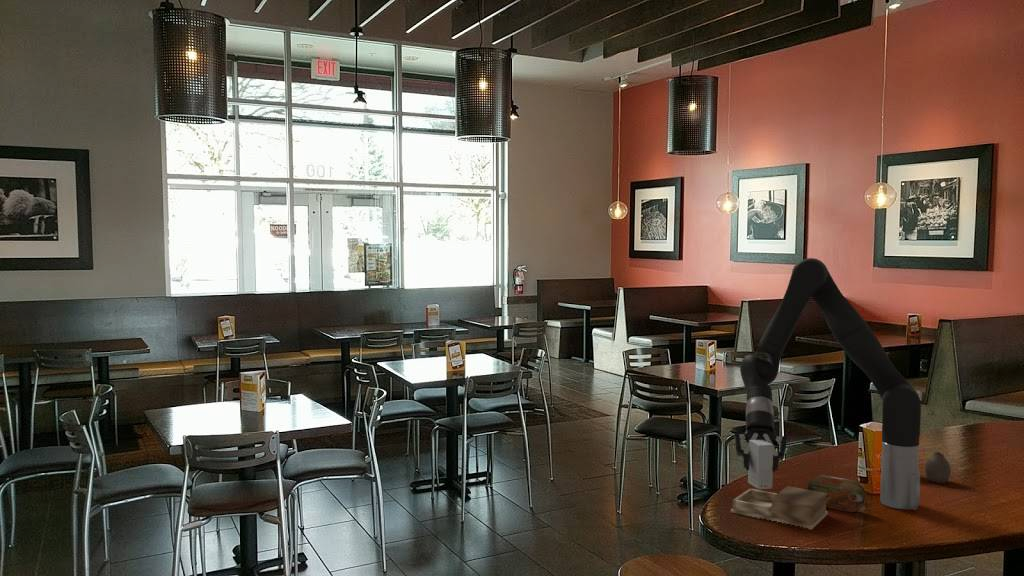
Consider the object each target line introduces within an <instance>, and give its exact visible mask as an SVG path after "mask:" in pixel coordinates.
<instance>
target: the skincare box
mask: <svg viewBox="0 0 1024 576" xmlns="http://www.w3.org/2000/svg"><path fill="white" fill-rule="evenodd" d="M773 445H774V444H773ZM773 445H772V444H770V443H768V442H766V441H764V440H749V449H750V452H749V470H747V473H748V474H747V484H749V485H750V486H753V487H754V488H755V489H756V490H765V489H766V490H771V489H773V480H774V479H773V478H774V477H773V476H774V475H773V473H774V472H773Z"/></svg>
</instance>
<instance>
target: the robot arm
mask: <svg viewBox="0 0 1024 576" xmlns="http://www.w3.org/2000/svg"><path fill="white" fill-rule="evenodd" d="M811 298H812V300H813V302H814V303H815V304H816V305H817V307H818V308H819V311H821V314H822V315H823V318H824V320H825V322H826V324H827V326H828V328H829V330H830V331H831V333H832V336H833V337H834V338H835V340H836V342H837V343H838V345H839V346H840V347H841V348H842V350H843V351H844V352H845V353H846V355H847V357H849V359H850V360H851V361H852V362H853V363H854V364H855V365H856V366H857V367H858V368H859V369H860V370H861V371H862V372H863V373H864V374H865V375H866V376H867V377H868V379H869V380H870V381H871V384H872V385H873V386H874V388H875V389H876V391H877V393H878V395H879V397H880V399H881V401H882V414H881V419H882V420H881V421H882V422H881V430H882V453H881V473H880V493H879V494H880V499H879V500H880V502H879V503H881V504H882V505H884V506H886V507H888V508H892V509H897V510H913V511H916V510H917V509H918V507H919V506H920V503H921V502H920V501H921V500H920V499H921V497H920V495H921V470H920V469H919V467H920V466H919V465H920V439H921V419H922V417H921V414H922V403H921V398H920V396H919V393H918V391H917V390H916V389H915V387H914V386H913V385H911V384H910V382H908V380H907V379H905V377H904V376H903V375H902V374H901V372H900V371H899V370H898V369H897V368H896V367H895V365H894V364H893V363H892V361H891V359H890V358H889V356H888V354H887V352H886V351H885V349H884V347H883V346H882V344H881V342H880V340H879V338H878V337H877V336H876V334H875V333H874V331H873V330H872V328H871V327H870V326H869V324H868V323H867V322H866V320H865V319H864V318H863V317H862V315H860V313H859V311H858V310H856V308H855V307H854V305H852V304H851V303H850V301H848V299H847V298H846V297H845V296H844V294H843V293H842V292H841V291H840V289H839V287H838V286H837V284H836V282H835V280H834V279H833V277H832V274H831V273H830V272H829V270H828V267H827V266H826V264H825V263H824V262H823V261H821V260H819V259H817V258H815V257H808V258H804V259H802V260H799V261H798V262H797V263H795V265H794V266H793V268H792V271H791V275H790V279H789V282H788V284H787V288H786V290H785V293H784V296H783V297H782V300H781V302H780V304H779V306H778V307H777V309H776V311H775V313H774V315H773V316H772V318H771V319H770V322H769V323H768V325H767V327H766V329H765V331H764V332H763V334H762V336H761V338H760V340H759V342H758V346H759V348H760V349H761V350H762V351H763V352H765V353H766V354H768V357H767V359H766V358H764V357H761V356H759V355H756V354H747V355H745V357H743V358H742V360H741V363H740V364H739V365H740V366H739V369H740V376H741V379H742V382H743V386H744V387H745V392H746V406H745V432H744V433H739V432H735V433H734V444H735V452H736V455H737V457H740V456H741V457H742V458H743V468H744V469H745V470H746V471H748V470H749V452H750V449H749V440H764V441H766V442H768V443H770V444H772V445H773V473H776V471H778V469H779V460H784V459H785V457H786V448H787V447H786V445H787V436H786V435H782V436H777V435H776V433H775V412H774V411H775V410H774V406H773V390H772V387H771V386H770V385H769V384H771V383H773V382H774V381H775V380H776V379H777V376H778V374H779V373H778V372H779V368H780V363H781V360H782V356H783V352H784V350H785V348H786V346H788V345H787V344H788V343H789V341H790V339H791V337H792V335H793V333H794V331H795V330H796V329H795V328H796V326H797V324H798V321H799V318H800V317H801V314H802V312H803V311H804V309H805V306H807V304H808V302H809V300H810V299H811ZM743 440H745V442H746V443H747V444H746V447H745V449H742V444H741V443H742V442H743ZM775 442H777V444H778V445H779V446H780V451H777V449H776V448H775V445H774V444H775Z"/></svg>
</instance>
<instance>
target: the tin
mask: <svg viewBox="0 0 1024 576" xmlns="http://www.w3.org/2000/svg"><path fill="white" fill-rule="evenodd" d="M807 490H812V491H817V492H823V493H827V496H826V509H832V510H837V511H843V512H847V513H854V512H855V513H856V512H859V510H861V509H862V508H863V507H864V506H865V504H866V502H867V492H866V490H865V488H864V486H863V485H861V483H859V482H858V481H856V480H853V479H848V478H842V477H835V476H830V475H824V474H822V475H817V476H814V477H812V478H811V479H810V480H809V482H808V484H807Z"/></svg>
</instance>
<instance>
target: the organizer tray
mask: <svg viewBox="0 0 1024 576" xmlns="http://www.w3.org/2000/svg"><path fill="white" fill-rule="evenodd" d="M826 496H827V493H823V492H817V491H812V490H807V489H805V488H799V487H794V486H789V485H787V486H786V487H784V488H783V489H782V490H780V491H779V492H778V493H775V492H772V491H771V492H770V491H764V490H762V489H757V488H755V489H754V488H748V489H746V490H744V491H743V492H741V494H739V495H737V496H735V498H733V499H732V508H731V509H730V513H732V514H737V515H741V516H746V517H750V516H751V517H750V518H755V517H756V519H760V518H761V520H764V519H766V521H769V520H771V521H770V522H773V521H777V522H776V523H778V522H782V523H781V524H783V523H786V524H785V525H787V524H791V525H790V526H792V525H795V526H794V527H797V526H800V527H799V528H801V527H803V528H802V529H806V528H808V529H807V530H813V529H814V528H815V527H816V526H817V525H818V524H819V523H821V521H822V520H823V519H824V518H825V517H827V515H828V511H827V507H826Z"/></svg>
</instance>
